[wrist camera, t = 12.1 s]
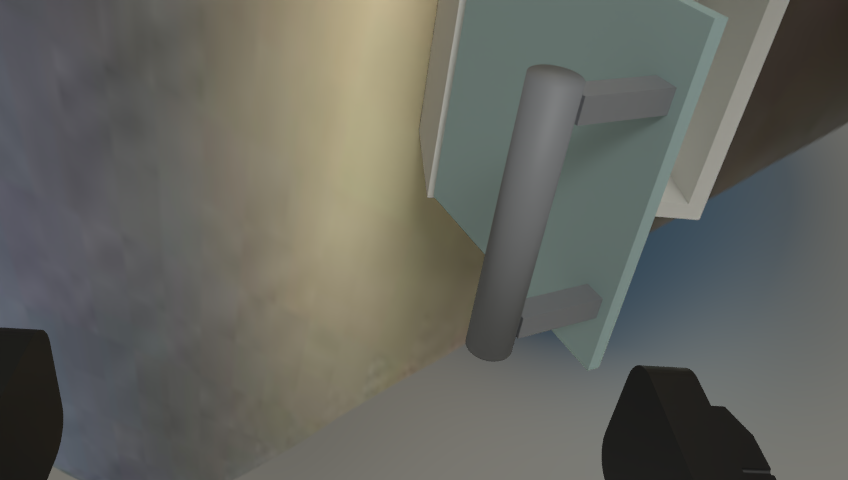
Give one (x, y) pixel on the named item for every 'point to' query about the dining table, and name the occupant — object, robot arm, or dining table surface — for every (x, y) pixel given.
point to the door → (566, 155)
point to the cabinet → (711, 121)
